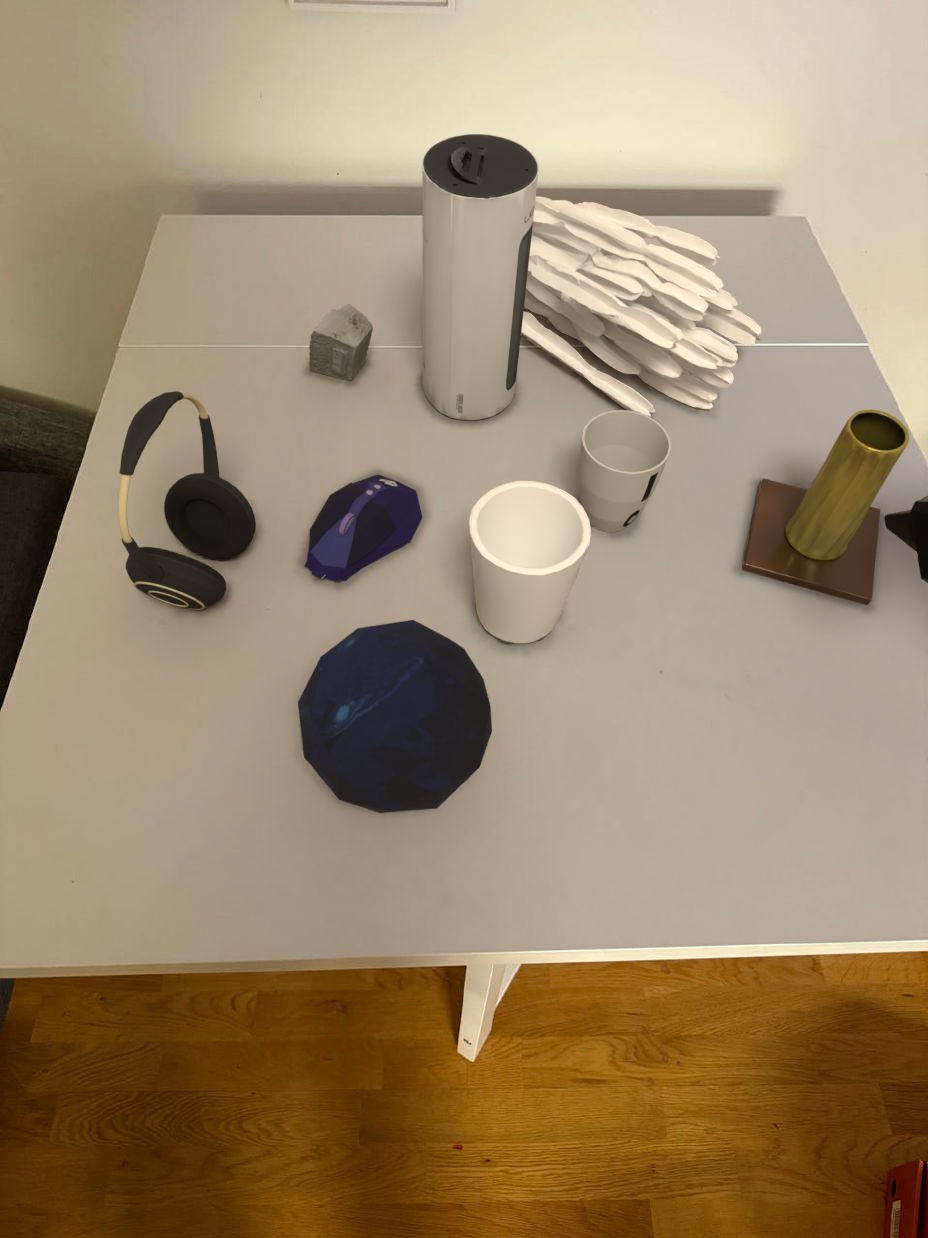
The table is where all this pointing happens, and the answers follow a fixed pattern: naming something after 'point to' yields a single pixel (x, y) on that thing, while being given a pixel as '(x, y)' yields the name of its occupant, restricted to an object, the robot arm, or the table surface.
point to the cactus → (631, 303)
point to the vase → (847, 484)
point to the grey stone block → (340, 343)
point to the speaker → (475, 270)
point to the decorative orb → (395, 718)
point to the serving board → (786, 564)
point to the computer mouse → (361, 526)
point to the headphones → (185, 517)
